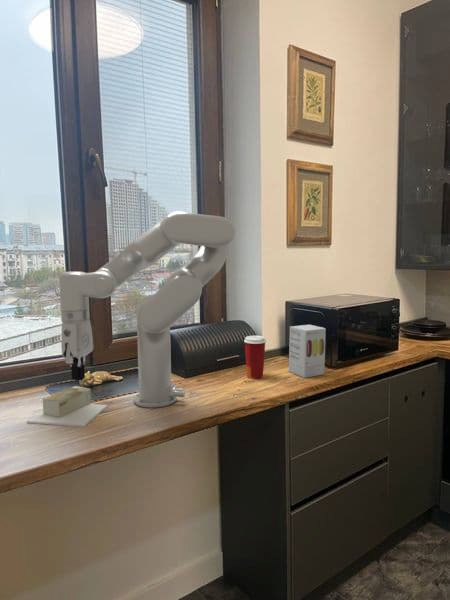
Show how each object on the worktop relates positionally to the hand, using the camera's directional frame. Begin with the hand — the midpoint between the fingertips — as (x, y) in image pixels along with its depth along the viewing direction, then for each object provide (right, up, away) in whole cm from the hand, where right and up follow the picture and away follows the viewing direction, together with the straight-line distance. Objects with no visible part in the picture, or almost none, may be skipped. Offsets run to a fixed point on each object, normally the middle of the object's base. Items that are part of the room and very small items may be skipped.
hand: (78, 379), depth 124 cm
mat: (-1, -9, -5) cm, 10 cm away
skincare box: (0, -5, +4) cm, 6 cm away
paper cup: (+52, -5, +29) cm, 60 cm away
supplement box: (+71, -4, +33) cm, 78 cm away
